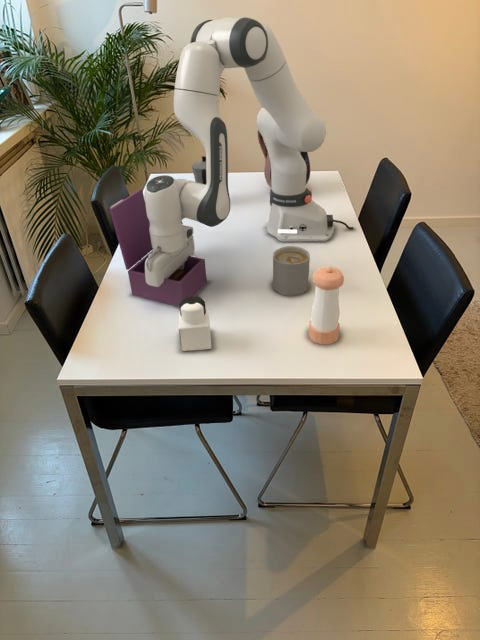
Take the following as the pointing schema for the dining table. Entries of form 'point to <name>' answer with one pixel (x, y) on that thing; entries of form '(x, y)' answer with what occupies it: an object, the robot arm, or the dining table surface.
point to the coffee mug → (291, 270)
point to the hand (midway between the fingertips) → (173, 283)
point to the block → (177, 275)
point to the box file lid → (132, 228)
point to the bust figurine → (194, 324)
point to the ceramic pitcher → (268, 165)
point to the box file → (169, 282)
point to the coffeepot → (200, 171)
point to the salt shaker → (326, 306)
